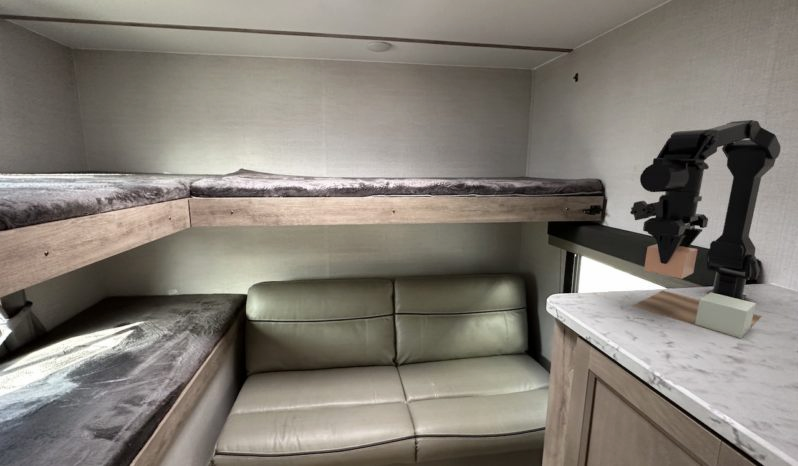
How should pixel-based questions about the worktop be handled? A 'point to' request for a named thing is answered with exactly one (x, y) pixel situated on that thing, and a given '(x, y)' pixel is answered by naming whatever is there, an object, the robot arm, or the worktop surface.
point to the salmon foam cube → (671, 262)
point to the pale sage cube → (725, 314)
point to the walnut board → (677, 308)
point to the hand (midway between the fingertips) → (670, 260)
